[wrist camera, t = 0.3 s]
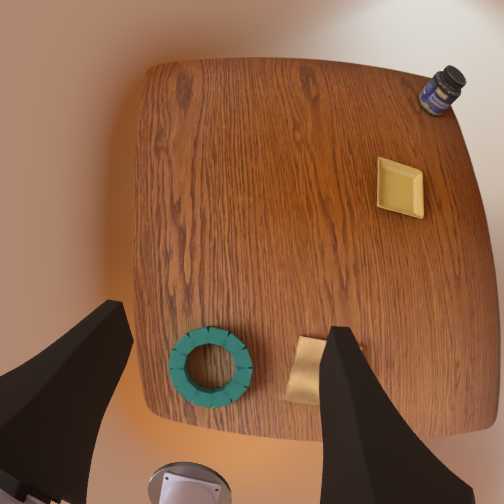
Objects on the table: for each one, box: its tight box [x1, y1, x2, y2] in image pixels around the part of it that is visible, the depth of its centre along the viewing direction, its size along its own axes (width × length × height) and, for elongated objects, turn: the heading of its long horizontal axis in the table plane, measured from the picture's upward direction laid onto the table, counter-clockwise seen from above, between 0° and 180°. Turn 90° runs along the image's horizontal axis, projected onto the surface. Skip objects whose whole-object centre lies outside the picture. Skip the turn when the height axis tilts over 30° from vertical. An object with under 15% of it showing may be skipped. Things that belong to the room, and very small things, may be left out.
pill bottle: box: [418, 65, 466, 117], centre depth 45 cm, size 6×6×11 cm
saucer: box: [377, 157, 424, 219], centre depth 45 cm, size 9×9×2 cm
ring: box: [168, 326, 253, 408], centre depth 38 cm, size 10×10×2 cm
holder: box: [284, 336, 363, 406], centre depth 36 cm, size 9×9×7 cm
